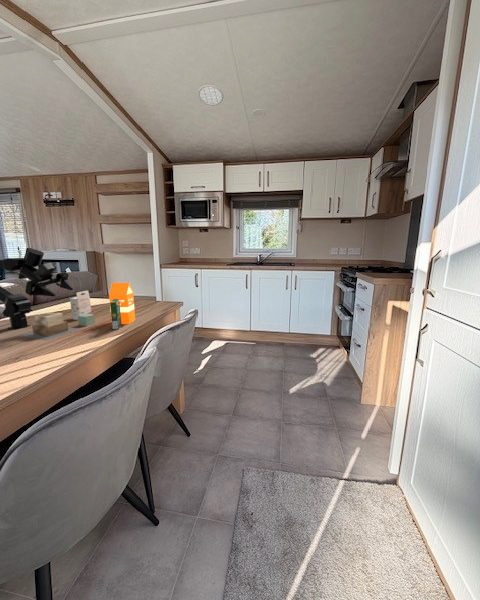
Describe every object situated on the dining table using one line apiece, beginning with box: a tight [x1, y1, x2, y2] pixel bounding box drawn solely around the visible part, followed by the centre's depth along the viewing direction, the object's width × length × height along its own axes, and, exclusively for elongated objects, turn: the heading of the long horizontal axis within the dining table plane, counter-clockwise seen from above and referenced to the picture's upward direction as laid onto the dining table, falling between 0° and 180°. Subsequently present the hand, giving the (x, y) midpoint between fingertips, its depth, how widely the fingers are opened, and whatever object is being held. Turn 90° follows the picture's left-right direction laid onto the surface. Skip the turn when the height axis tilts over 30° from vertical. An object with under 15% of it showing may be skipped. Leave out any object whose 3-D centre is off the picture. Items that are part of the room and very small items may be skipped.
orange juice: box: [108, 282, 136, 325], centre depth 134 cm, size 8×9×20 cm
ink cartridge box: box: [69, 290, 93, 321], centre depth 141 cm, size 9×5×15 cm, turn 168°
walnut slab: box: [31, 321, 69, 337], centre depth 117 cm, size 9×9×4 cm
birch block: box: [34, 311, 65, 327], centre depth 116 cm, size 7×7×4 cm
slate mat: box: [19, 327, 81, 341], centre depth 117 cm, size 16×16×1 cm
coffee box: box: [109, 299, 123, 331], centre depth 125 cm, size 8×3×13 cm, turn 14°
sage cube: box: [77, 313, 96, 327], centre depth 130 cm, size 5×5×5 cm
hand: (64, 292), depth 119 cm, fingers open, 9 cm apart
